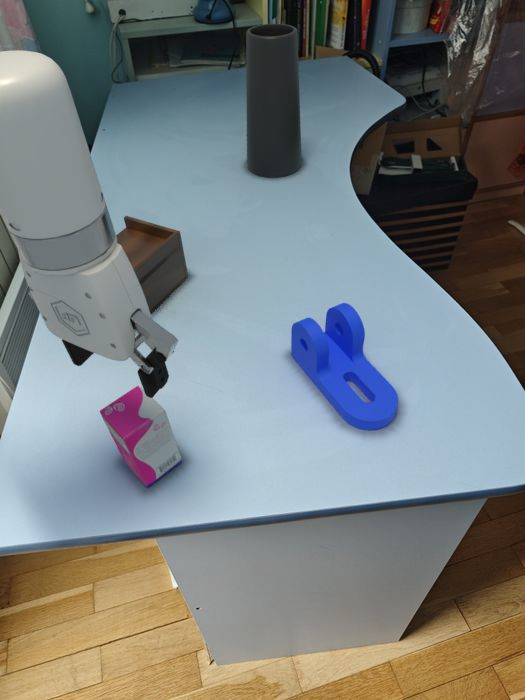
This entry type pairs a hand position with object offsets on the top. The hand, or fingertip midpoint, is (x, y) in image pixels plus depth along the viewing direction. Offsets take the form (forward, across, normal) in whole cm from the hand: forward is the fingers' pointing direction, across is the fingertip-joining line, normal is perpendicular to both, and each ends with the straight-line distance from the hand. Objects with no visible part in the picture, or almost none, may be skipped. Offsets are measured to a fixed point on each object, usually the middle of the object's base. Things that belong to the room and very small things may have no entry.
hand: (121, 371), depth 51 cm
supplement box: (+18, 0, 0) cm, 18 cm away
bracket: (+19, +18, +24) cm, 35 cm away
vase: (+19, -24, +82) cm, 87 cm away
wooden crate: (+18, -24, +27) cm, 40 cm away
